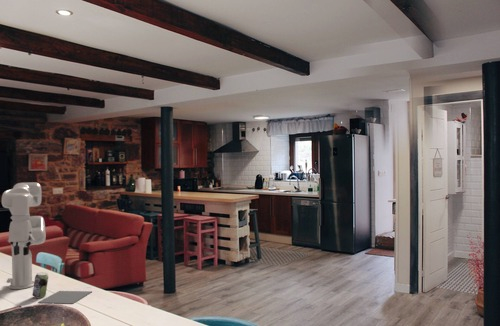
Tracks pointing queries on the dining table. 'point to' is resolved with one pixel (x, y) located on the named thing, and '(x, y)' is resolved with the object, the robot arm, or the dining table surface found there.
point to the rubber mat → (65, 297)
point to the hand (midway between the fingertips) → (21, 254)
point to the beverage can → (40, 285)
